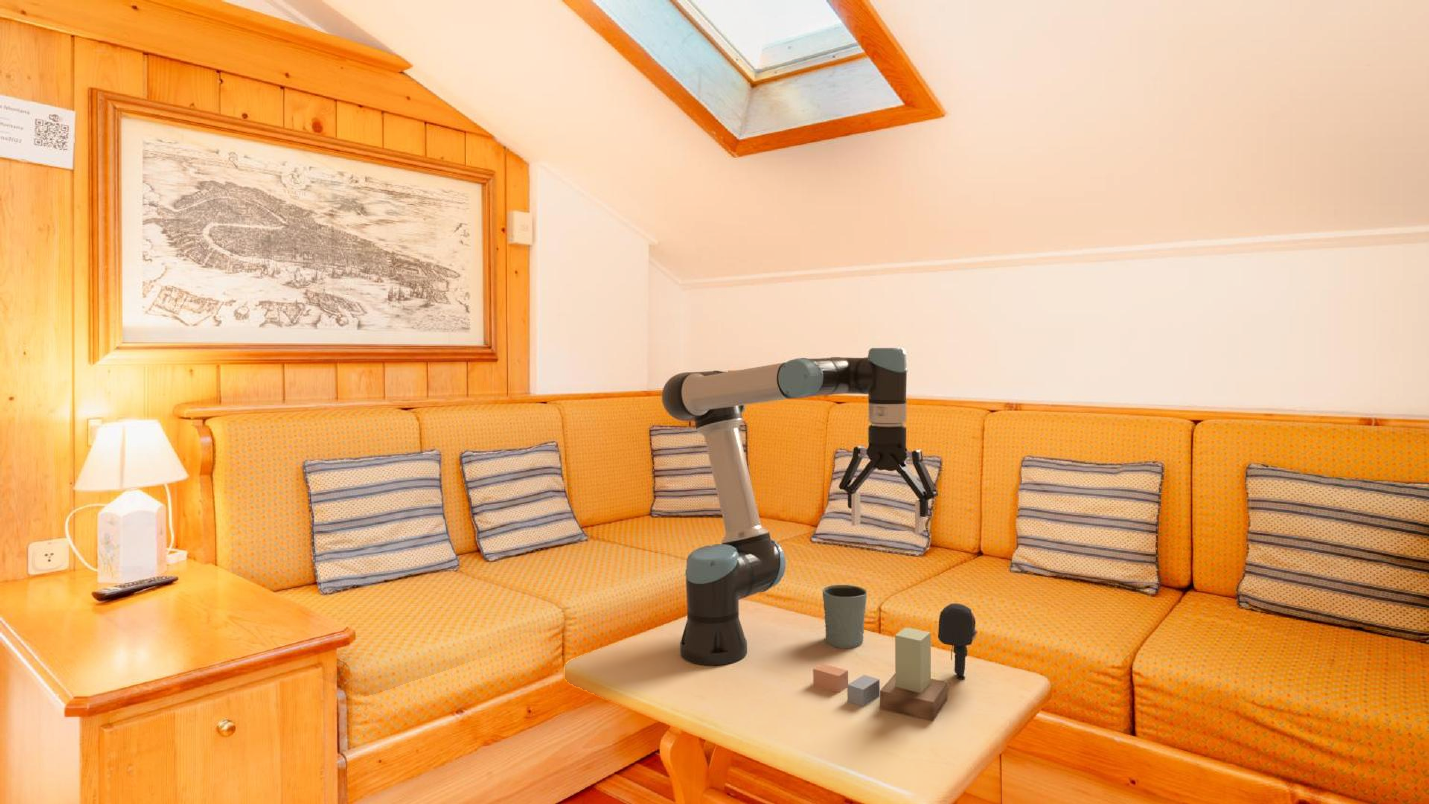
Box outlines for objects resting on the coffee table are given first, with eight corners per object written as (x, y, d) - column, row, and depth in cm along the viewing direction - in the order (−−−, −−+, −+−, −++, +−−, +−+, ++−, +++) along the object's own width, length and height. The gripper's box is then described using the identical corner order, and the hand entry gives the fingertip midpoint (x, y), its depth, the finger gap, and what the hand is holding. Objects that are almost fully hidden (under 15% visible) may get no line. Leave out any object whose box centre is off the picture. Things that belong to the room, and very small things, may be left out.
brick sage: (895, 686, 148) (895, 635, 147) (906, 677, 152) (905, 627, 151) (920, 693, 145) (920, 640, 144) (930, 683, 149) (930, 632, 148)
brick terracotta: (813, 685, 158) (813, 668, 158) (822, 680, 160) (822, 663, 160) (839, 693, 154) (839, 676, 154) (848, 687, 157) (848, 670, 156)
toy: (980, 686, 155) (980, 612, 155) (939, 684, 157) (939, 610, 156) (974, 668, 164) (974, 598, 163) (936, 666, 166) (936, 597, 165)
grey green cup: (816, 644, 180) (815, 593, 179) (833, 630, 188) (833, 581, 188) (857, 652, 175) (857, 599, 174) (873, 638, 183) (873, 587, 182)
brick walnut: (880, 711, 146) (879, 690, 146) (896, 691, 155) (896, 671, 155) (933, 723, 141) (933, 702, 141) (947, 702, 150) (947, 681, 150)
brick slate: (863, 707, 148) (863, 689, 147) (847, 702, 150) (847, 684, 150) (879, 696, 152) (879, 679, 152) (863, 692, 154) (863, 674, 154)
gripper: (823, 423, 161) (823, 524, 163) (942, 429, 147) (941, 540, 148) (839, 420, 167) (839, 517, 169) (954, 425, 153) (953, 532, 154)
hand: (886, 528), depth 158 cm, fingers open, 13 cm apart
